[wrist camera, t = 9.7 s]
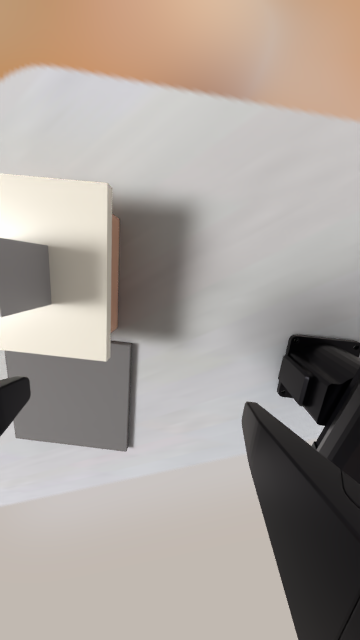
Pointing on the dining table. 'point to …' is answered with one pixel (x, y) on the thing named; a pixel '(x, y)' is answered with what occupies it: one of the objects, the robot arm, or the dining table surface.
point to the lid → (55, 266)
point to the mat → (75, 398)
